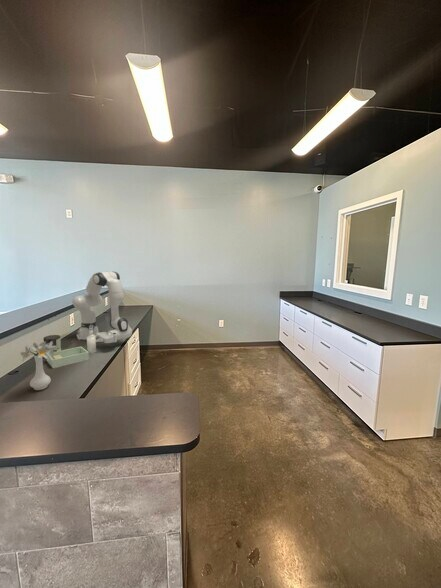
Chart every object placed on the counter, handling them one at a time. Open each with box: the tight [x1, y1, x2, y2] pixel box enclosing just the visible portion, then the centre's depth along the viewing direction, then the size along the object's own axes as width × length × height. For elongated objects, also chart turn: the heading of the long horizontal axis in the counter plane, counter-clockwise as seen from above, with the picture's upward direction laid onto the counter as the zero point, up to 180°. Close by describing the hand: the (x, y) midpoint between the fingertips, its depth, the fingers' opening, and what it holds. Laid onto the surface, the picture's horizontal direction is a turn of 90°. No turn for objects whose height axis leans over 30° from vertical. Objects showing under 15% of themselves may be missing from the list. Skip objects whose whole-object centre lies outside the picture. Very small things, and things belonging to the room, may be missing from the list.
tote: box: [46, 346, 90, 369], centre depth 172 cm, size 16×22×6 cm
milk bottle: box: [86, 328, 97, 354], centre depth 189 cm, size 6×6×19 cm
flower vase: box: [20, 341, 57, 391], centre depth 136 cm, size 13×18×25 cm
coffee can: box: [43, 334, 62, 355], centre depth 180 cm, size 10×10×14 cm
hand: (93, 339), depth 191 cm, fingers open, 8 cm apart
